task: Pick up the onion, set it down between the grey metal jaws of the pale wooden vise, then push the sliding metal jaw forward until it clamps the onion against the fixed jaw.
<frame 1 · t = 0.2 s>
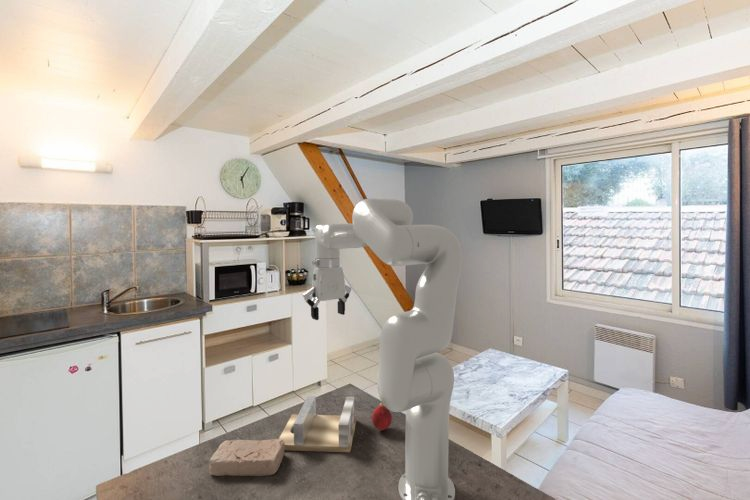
hand: (328, 316, 113), 31 cm above the countertop, tool pointing down, fingers open, 9 cm apart
onion: (381, 430, 103), on the countertop
vise jaw: (303, 418, 101), point 5 cm above the countertop, slide at 0.0 cm
vise base: (318, 434, 101), on the countertop
brick: (248, 466, 89), on the countertop
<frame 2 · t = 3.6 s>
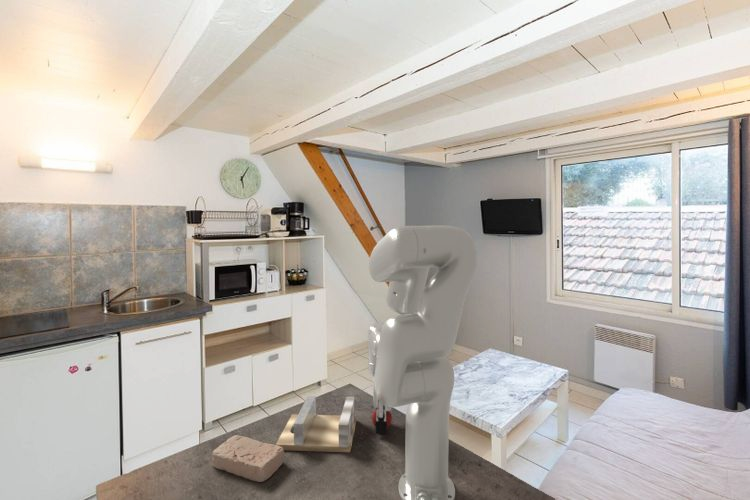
hand: (381, 426, 103), 1 cm above the countertop, tool pointing down, fingers closed on onion, 5 cm apart
onion: (381, 430, 103), on the countertop, touching gripper
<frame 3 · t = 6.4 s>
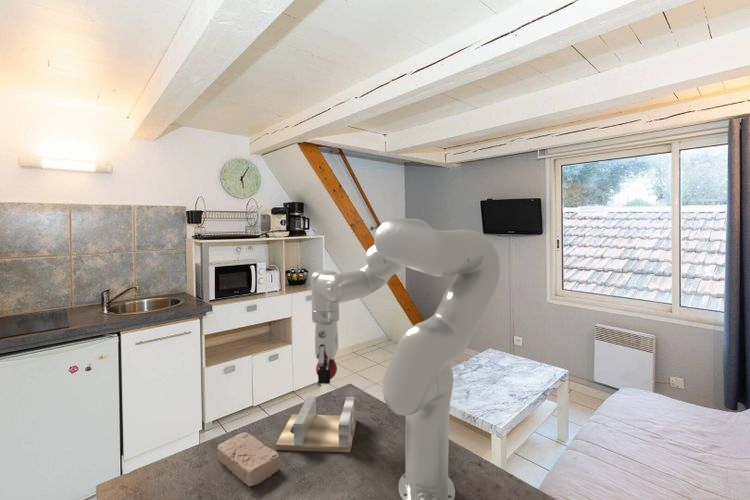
hand: (326, 377, 100), 17 cm above the countertop, tool pointing down, fingers closed on onion, 5 cm apart
onion: (326, 381, 100), point 16 cm above the countertop, touching gripper
when the fingers open (4 cm above the countertop, at t = 9.2 s): onion stays where it is, resting on vise base.
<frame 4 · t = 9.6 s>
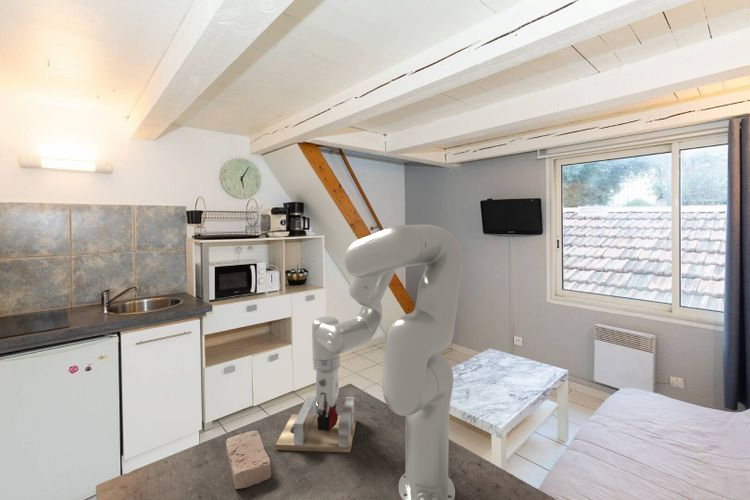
hand: (327, 419, 101), 4 cm above the countertop, tool pointing down, fingers open, 9 cm apart
onion: (327, 430, 101), point 1 cm above the countertop, touching vise base
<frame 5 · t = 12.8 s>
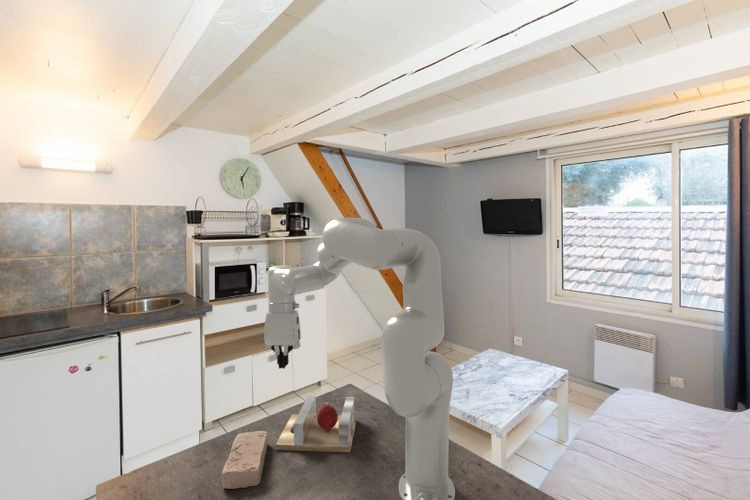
hand: (283, 366, 106), 17 cm above the countertop, tool pointing down, fingers closed
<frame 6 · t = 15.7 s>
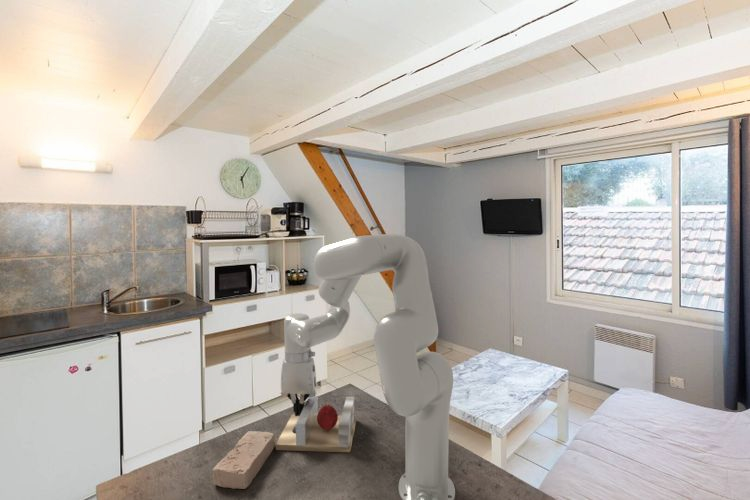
hand: (299, 413, 107), 3 cm above the countertop, tool pointing down, fingers closed
vise jaw: (305, 418, 101), point 5 cm above the countertop, slide at 0.6 cm, touching gripper
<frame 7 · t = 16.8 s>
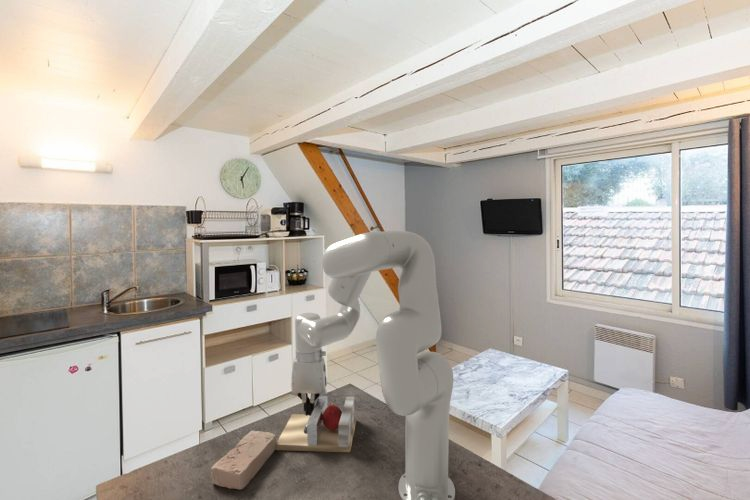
hand: (309, 413, 107), 3 cm above the countertop, tool pointing down, fingers closed
onion: (332, 430, 101), point 1 cm above the countertop, touching vise base, vise jaw
vise jaw: (315, 418, 101), point 5 cm above the countertop, slide at 3.7 cm, touching gripper, onion
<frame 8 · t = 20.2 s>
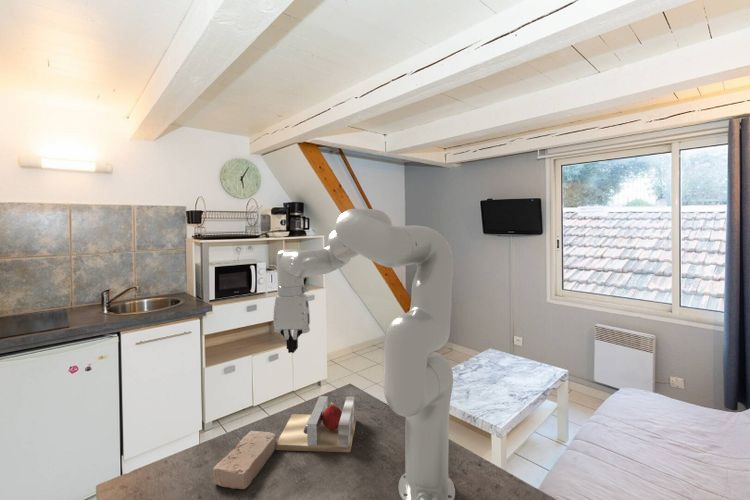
hand: (292, 351, 106), 22 cm above the countertop, tool pointing down, fingers closed
onion: (332, 430, 101), point 1 cm above the countertop, touching vise base
vise jaw: (315, 418, 101), point 5 cm above the countertop, slide at 3.6 cm
at the end: onion inside the target area on the vise base (0.2 cm from its centre), point 1.3 cm above the vise base's base; vise jaw slide at 3.6 cm; the gripper is holding nothing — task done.
